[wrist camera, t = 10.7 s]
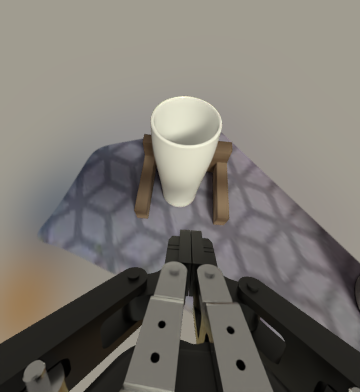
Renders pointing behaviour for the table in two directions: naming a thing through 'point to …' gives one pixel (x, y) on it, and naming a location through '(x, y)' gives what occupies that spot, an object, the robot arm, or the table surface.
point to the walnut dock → (216, 166)
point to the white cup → (184, 145)
